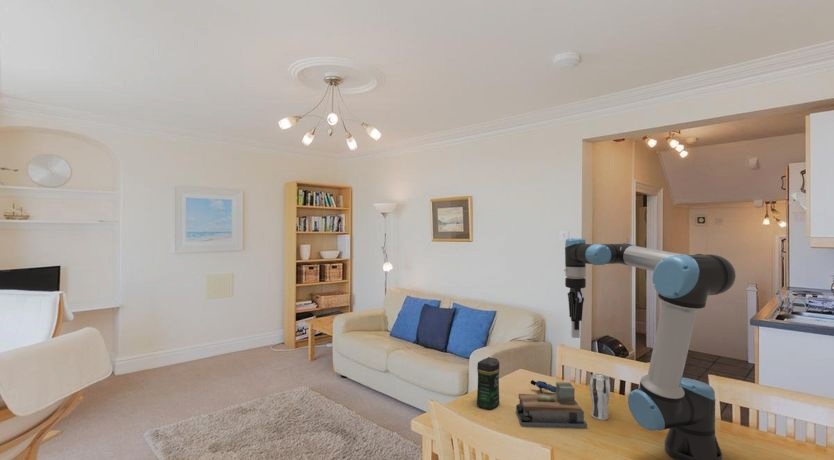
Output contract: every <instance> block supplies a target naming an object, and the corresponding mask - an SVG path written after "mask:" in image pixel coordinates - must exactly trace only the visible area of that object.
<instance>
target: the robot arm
mask: <svg viewBox="0 0 834 460" xmlns="http://www.w3.org/2000/svg"><path fill="white" fill-rule="evenodd" d="M564 255H565V256H564V258H565V259H564V262H565V263H564V265H565V268H564V269H563V271H564V272H565V274H564V275H565V277H566V278H564V280H565V282H564V284H565V287H566V288H568V289H569V292H567V299H568V311H569V313H568V314H569V315H568V316H569V318H570V322H571V337H572V339H574V338H575V339H580V338H581V335H580V332H581V325H580V324H581V321H583V309H584V301H585V297H583V293H582V289H585V288H586V284H587V283H586V282H587V280H586V277H587V269H586V267H587V266H586V264H587V265H593V266H604V265H612V264H613V265H614V264H618V265H621V264H622V265H625V266H631V267H633V268H639V269H643V270H645V271H646V270H647V271H650V272H652V283H653V284H654V289H655V291H656V292H657V293H658V295H657V298H658V299H659V301H660V302H661V303H662V305H661V309H660V314H659V320H658V324H657V327H656V333H655V338H654V343H653V346H652V353H651V357H650V361H649V362H650V363H649V366H648V370H647V371H648V372H647V374H646V375H643V376H641V378H640V382H639V387H638V388H636V389H634V390H632V391H630V392H629V394H628V395H627V404H628V406H627V407H628V409H629V411H630V413H631V416H632V418H633V419H634V420H635V422H636V423H637V424H638V425H640V426H641V428H643V429H645V430H647V431H652V432H653V431H664V430H667V429H668V431H667V434H666V437H665V439H664V451H665V452H666V454H667V453H668V454H667V455H668V456H670V455H671V456H672V457H671V456H670V457H671V458H673V457H674V458H676V459H678V460H723V453H722V449H721V448H720V444H719V442H718V438H717V437H716V401H717V399H716V395H715V394H716V393H715V390H714V388H713V387H712V386H711V385H710V384H707V383H705V382H703V381H700V380H696V379H692V378H688V377H683V374H684V370H685V366H686V362H687V358H688V354H689V348H690V345H691V340H692V335H693V331H694V327H695V323H696V318H697V314H698V312H699V311H702V310H703V309H705V307H706V304H707V300H708V296H715V295H716V296H717V295H722V294H723V293H726V292H728V290H730V288H732V286H734V283H735V282H736V276H737V275H736V269H735V268H734V266H733V264H732V263H731V262H730V261H729V260H728V259H727V258H724V257H723V256H720V255H718V254H702V253H694V254H683V253H677V252H671V251H666V250H660V249H655V248H654V249H653V248H649V247H644V246H643V247H642V246H637V245H635V244H633V243H626V242H625V243H624V242H623V243H587V242H586V239H585V238H577V237H575V238H574V237H573V238H572V237H569V238H567V239H566V240H565V247H564ZM674 458H673V459H674ZM676 459H675V460H676Z"/></svg>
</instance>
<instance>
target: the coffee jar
mask: <svg viewBox="0 0 834 460" xmlns="http://www.w3.org/2000/svg"><path fill="white" fill-rule="evenodd" d="M476 366H477V368H476V370H477V371H476V372H477V390H476V391H477V393H476V404H477V406H478V407H480V408H481V409H485V410H486V409H487V410H488V409H489V410H493V409H495V408H496V407H498V405H500V361H499V360H498V359H497V358H496V357H495V358H494V357H490V356H488V357H485V358H483V359H481V360H480V361H478V362H477V365H476Z"/></svg>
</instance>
